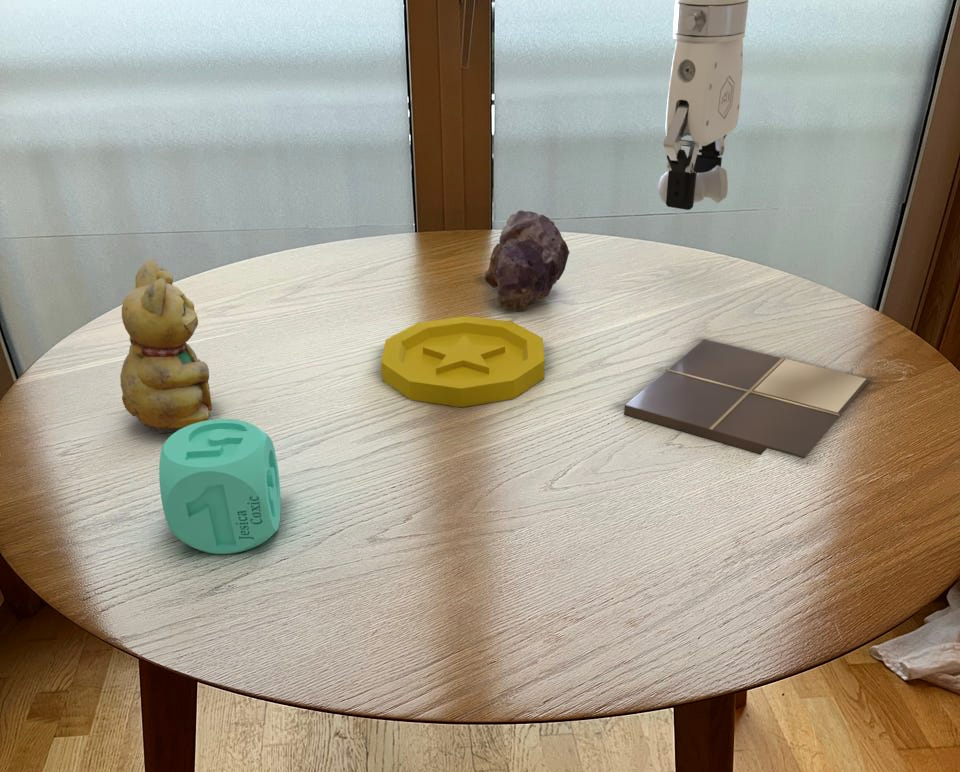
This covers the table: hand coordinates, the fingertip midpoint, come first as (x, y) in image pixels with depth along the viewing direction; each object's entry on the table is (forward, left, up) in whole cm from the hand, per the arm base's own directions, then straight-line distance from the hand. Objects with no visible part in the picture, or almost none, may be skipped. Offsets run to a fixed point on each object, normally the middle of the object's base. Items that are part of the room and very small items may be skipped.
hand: (692, 198), depth 116 cm
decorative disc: (+9, +35, -10) cm, 37 cm away
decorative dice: (+8, +70, -10) cm, 71 cm away
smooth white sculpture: (0, 0, -1) cm, 1 cm away
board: (-19, +26, -9) cm, 34 cm away
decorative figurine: (+26, +60, -10) cm, 66 cm away
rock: (+14, +15, -10) cm, 22 cm away
